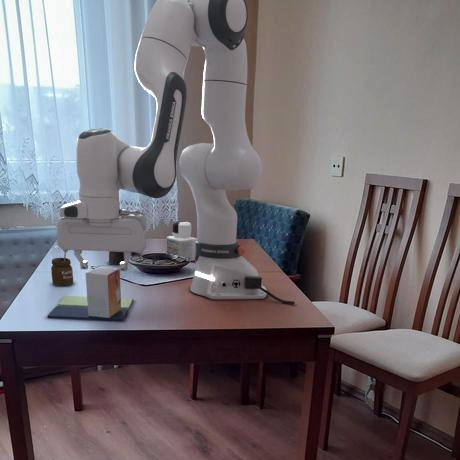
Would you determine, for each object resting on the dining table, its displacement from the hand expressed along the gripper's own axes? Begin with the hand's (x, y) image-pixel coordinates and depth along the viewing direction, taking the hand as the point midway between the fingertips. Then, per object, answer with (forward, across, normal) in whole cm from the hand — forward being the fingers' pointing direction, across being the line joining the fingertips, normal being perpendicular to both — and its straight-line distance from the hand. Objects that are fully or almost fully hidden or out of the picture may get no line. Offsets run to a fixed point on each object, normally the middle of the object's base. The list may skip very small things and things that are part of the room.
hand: (104, 269), depth 132 cm
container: (+13, -14, -67) cm, 70 cm away
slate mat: (+11, +4, 0) cm, 12 cm away
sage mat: (+11, +4, -9) cm, 15 cm away
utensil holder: (+12, +18, -27) cm, 34 cm away
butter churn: (+12, +6, -55) cm, 57 cm away
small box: (+11, 0, 0) cm, 11 cm away
